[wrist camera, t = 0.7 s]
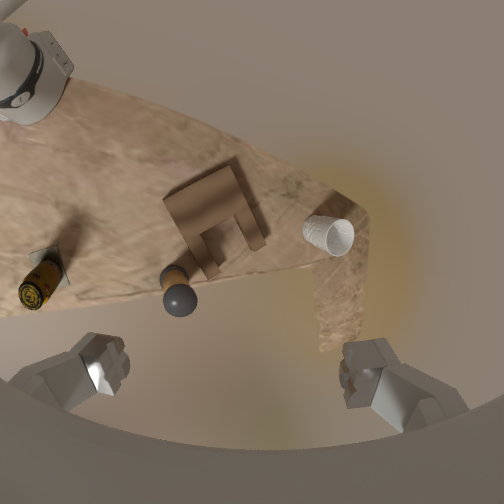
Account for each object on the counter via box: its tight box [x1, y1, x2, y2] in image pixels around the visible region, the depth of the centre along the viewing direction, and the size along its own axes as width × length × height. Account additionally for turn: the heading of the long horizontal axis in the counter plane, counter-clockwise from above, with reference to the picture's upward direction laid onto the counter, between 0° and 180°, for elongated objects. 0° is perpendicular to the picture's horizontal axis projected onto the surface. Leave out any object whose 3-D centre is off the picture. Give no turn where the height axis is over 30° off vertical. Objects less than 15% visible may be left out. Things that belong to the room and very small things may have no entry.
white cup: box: [302, 215, 354, 256], centre depth 59 cm, size 8×8×10 cm
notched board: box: [163, 165, 266, 280], centre depth 53 cm, size 18×14×2 cm
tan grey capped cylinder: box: [160, 265, 197, 317], centre depth 49 cm, size 7×6×11 cm
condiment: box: [19, 245, 69, 310], centre depth 38 cm, size 7×8×12 cm
